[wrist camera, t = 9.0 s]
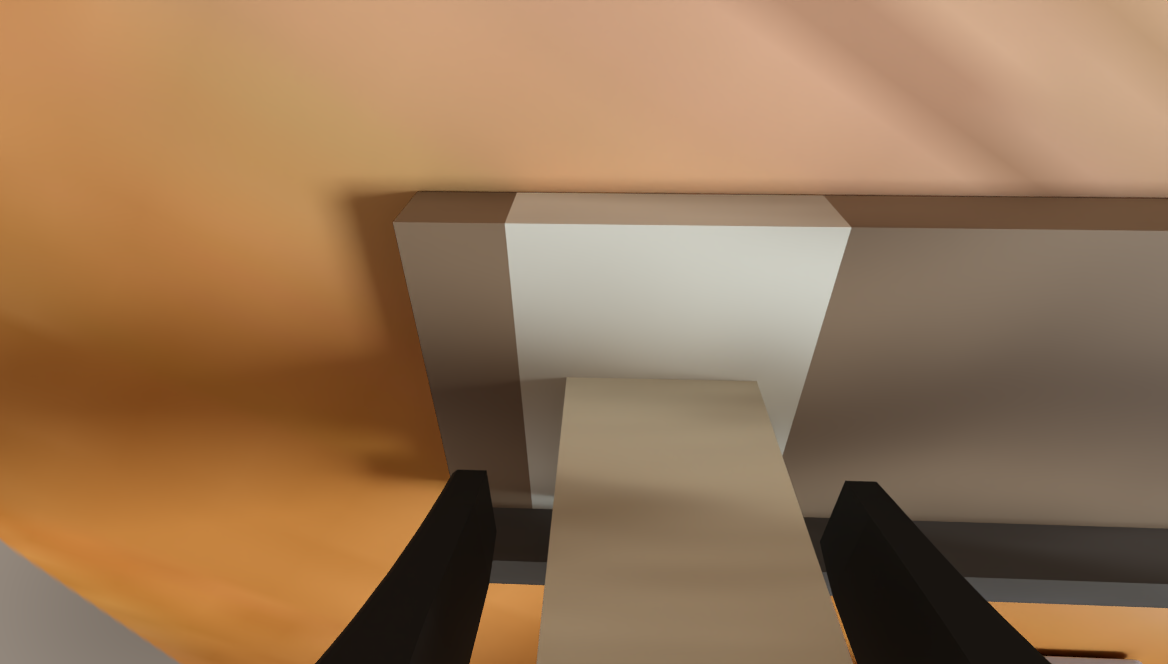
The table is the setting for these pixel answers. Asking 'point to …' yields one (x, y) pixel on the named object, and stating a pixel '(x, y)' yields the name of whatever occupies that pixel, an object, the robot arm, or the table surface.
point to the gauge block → (679, 533)
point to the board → (830, 359)
